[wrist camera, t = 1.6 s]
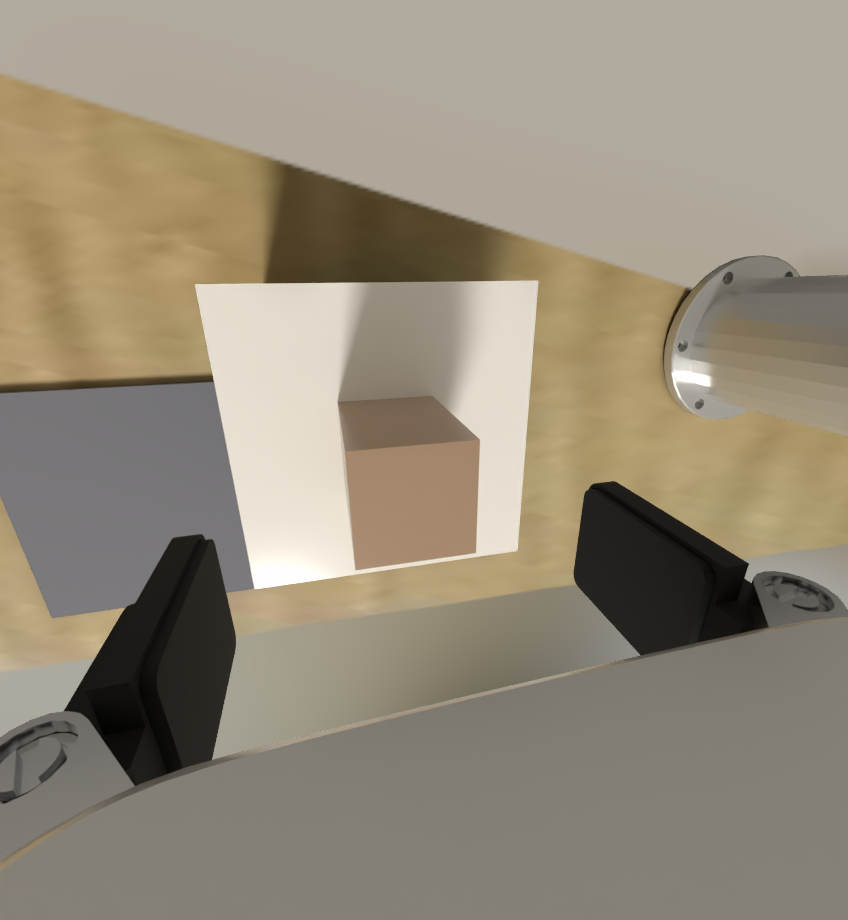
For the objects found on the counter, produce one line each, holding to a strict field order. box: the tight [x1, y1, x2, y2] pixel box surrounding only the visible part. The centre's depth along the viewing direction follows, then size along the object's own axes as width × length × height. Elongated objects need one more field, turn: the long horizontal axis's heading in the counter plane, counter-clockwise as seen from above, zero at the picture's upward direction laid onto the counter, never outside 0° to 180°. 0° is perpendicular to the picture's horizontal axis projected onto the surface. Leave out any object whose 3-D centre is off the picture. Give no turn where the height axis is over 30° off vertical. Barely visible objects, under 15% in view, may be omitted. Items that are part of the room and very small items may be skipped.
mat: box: [0, 381, 254, 618], centre depth 29 cm, size 16×16×1 cm
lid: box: [195, 281, 538, 589], centre depth 17 cm, size 13×13×8 cm
